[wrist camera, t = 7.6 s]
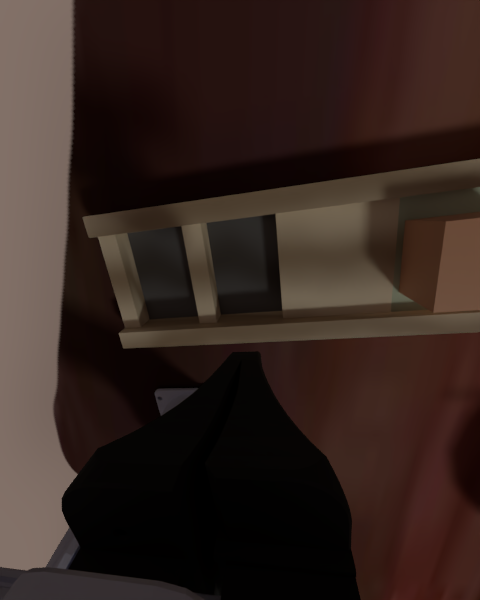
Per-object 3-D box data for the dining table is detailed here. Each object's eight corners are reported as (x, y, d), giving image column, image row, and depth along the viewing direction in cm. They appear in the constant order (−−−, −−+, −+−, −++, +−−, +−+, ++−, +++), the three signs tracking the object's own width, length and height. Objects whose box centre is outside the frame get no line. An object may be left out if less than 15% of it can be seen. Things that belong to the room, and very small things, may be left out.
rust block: (477, 286, 17) (536, 306, 13) (398, 292, 17) (433, 312, 14) (491, 210, 15) (564, 208, 11) (405, 220, 16) (446, 221, 12)
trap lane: (486, 313, 19) (523, 330, 16) (140, 333, 24) (123, 348, 21) (520, 157, 16) (574, 144, 13) (108, 216, 20) (82, 217, 18)
